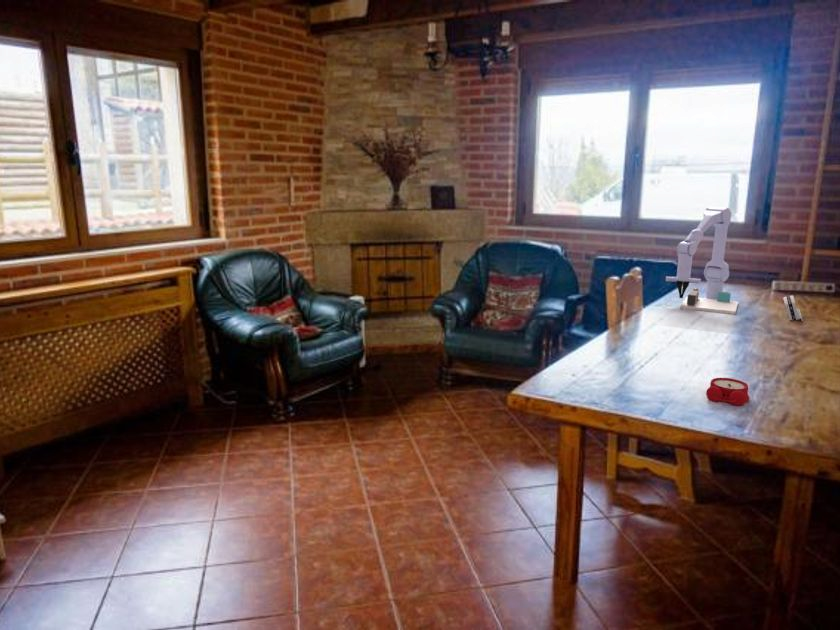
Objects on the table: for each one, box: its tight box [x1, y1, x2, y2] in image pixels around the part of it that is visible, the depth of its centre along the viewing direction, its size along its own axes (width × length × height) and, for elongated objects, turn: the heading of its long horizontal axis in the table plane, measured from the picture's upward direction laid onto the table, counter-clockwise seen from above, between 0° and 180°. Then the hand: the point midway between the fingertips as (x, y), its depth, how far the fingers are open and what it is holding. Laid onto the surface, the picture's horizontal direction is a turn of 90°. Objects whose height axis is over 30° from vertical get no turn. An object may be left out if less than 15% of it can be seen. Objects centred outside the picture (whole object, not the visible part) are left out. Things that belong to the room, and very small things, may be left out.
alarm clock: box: [706, 377, 750, 407], centre depth 163 cm, size 10×6×15 cm
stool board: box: [679, 291, 739, 315], centre depth 274 cm, size 23×22×5 cm
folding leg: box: [687, 287, 700, 305], centre depth 275 cm, size 16×3×5 cm, turn 150°
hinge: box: [783, 295, 804, 322], centre depth 255 cm, size 17×5×10 cm, turn 152°
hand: (681, 297), depth 276 cm, fingers closed
